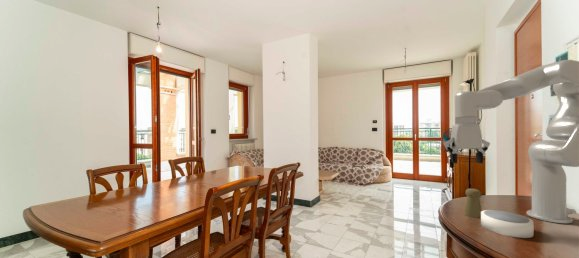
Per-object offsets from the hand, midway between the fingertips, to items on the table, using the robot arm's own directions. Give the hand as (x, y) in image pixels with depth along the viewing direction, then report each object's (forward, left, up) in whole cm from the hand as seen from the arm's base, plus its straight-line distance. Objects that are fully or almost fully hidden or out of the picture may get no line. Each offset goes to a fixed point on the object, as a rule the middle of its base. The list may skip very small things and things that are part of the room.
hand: (466, 162), depth 98 cm
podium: (-4, +13, -22) cm, 26 cm away
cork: (-4, -1, -22) cm, 23 cm away
